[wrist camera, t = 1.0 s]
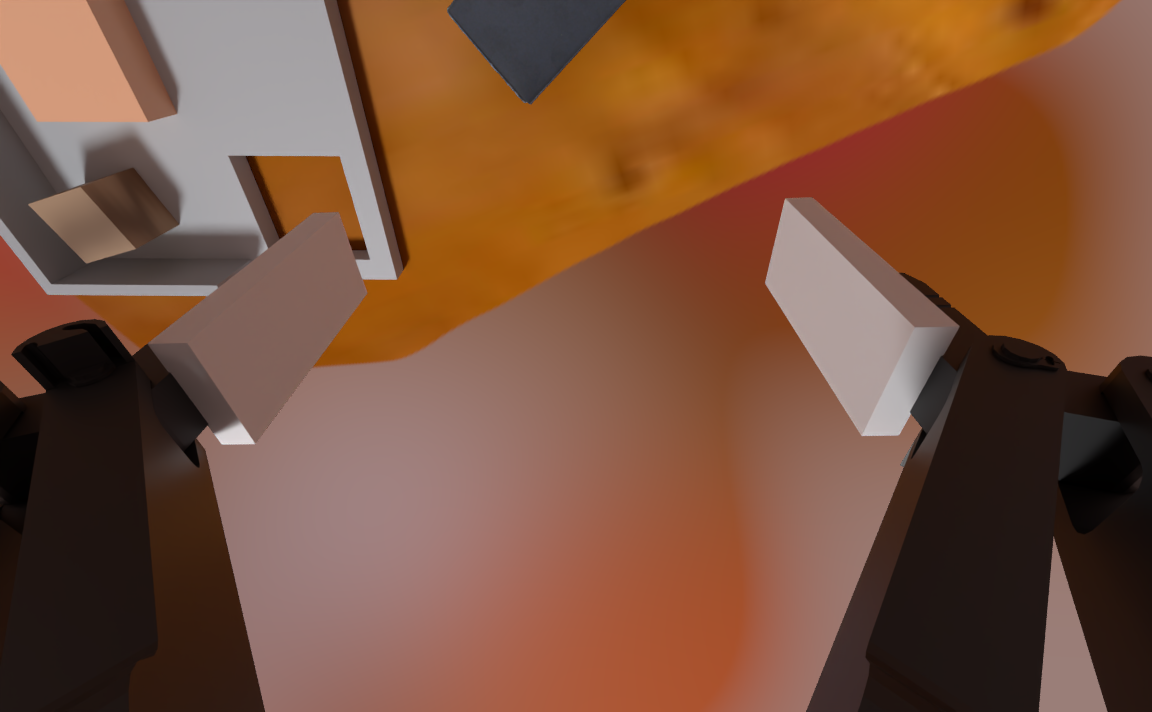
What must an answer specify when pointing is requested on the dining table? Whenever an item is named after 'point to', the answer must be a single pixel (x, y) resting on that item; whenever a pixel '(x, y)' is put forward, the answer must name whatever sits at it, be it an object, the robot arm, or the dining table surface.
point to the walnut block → (106, 215)
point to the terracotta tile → (80, 62)
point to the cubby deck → (201, 147)
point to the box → (530, 36)
